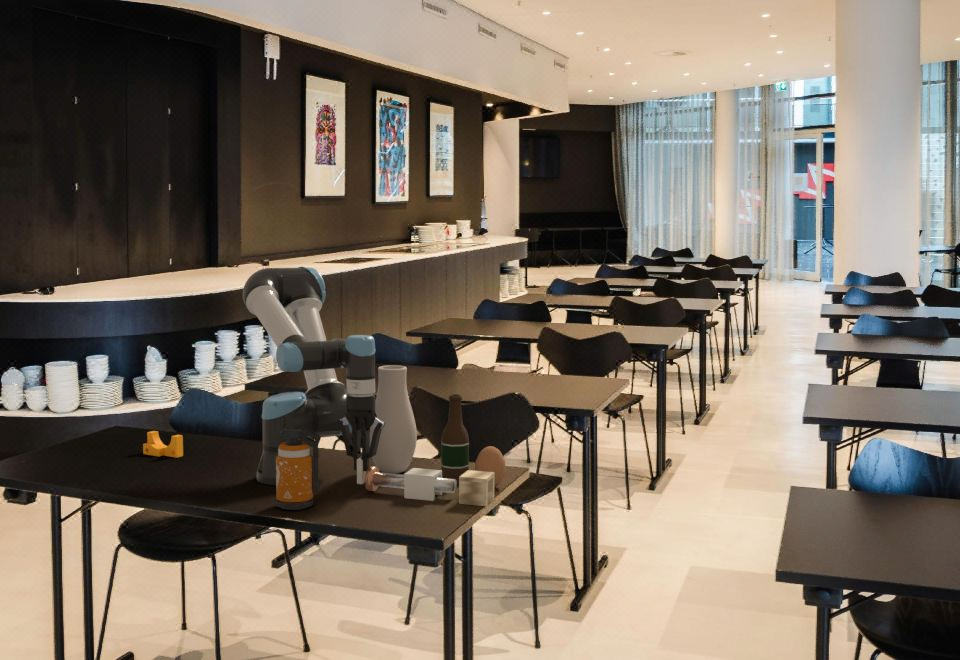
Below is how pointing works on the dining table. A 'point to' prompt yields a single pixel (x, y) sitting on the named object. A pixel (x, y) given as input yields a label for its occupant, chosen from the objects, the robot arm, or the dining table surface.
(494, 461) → the egg
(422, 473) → the sleeve
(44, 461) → the dining table surface
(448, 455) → the beer bottle
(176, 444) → the pipe clamp
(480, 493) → the socket
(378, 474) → the bolt
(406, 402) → the vase
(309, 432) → the canister
